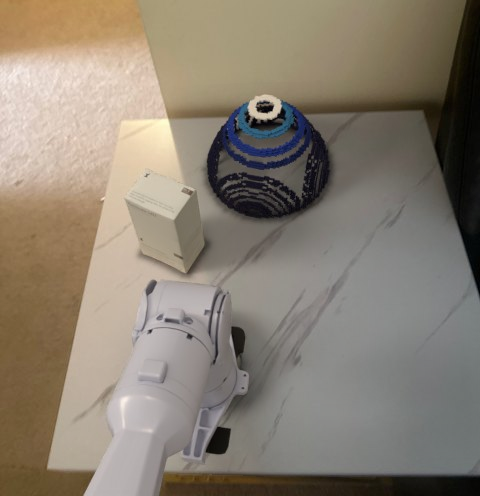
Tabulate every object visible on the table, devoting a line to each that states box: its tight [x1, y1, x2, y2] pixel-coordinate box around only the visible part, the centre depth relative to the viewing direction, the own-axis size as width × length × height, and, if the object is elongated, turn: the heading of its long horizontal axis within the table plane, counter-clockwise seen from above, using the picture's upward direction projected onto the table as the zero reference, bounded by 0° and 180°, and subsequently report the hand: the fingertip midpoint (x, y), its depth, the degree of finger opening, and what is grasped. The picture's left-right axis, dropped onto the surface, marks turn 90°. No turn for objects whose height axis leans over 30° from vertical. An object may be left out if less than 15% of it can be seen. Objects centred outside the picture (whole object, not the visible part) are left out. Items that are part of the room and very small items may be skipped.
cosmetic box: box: [123, 168, 206, 274], centre depth 80 cm, size 8×6×15 cm
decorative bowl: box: [206, 93, 331, 219], centre depth 88 cm, size 20×20×14 cm
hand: (217, 403), depth 61 cm, fingers open, 7 cm apart
